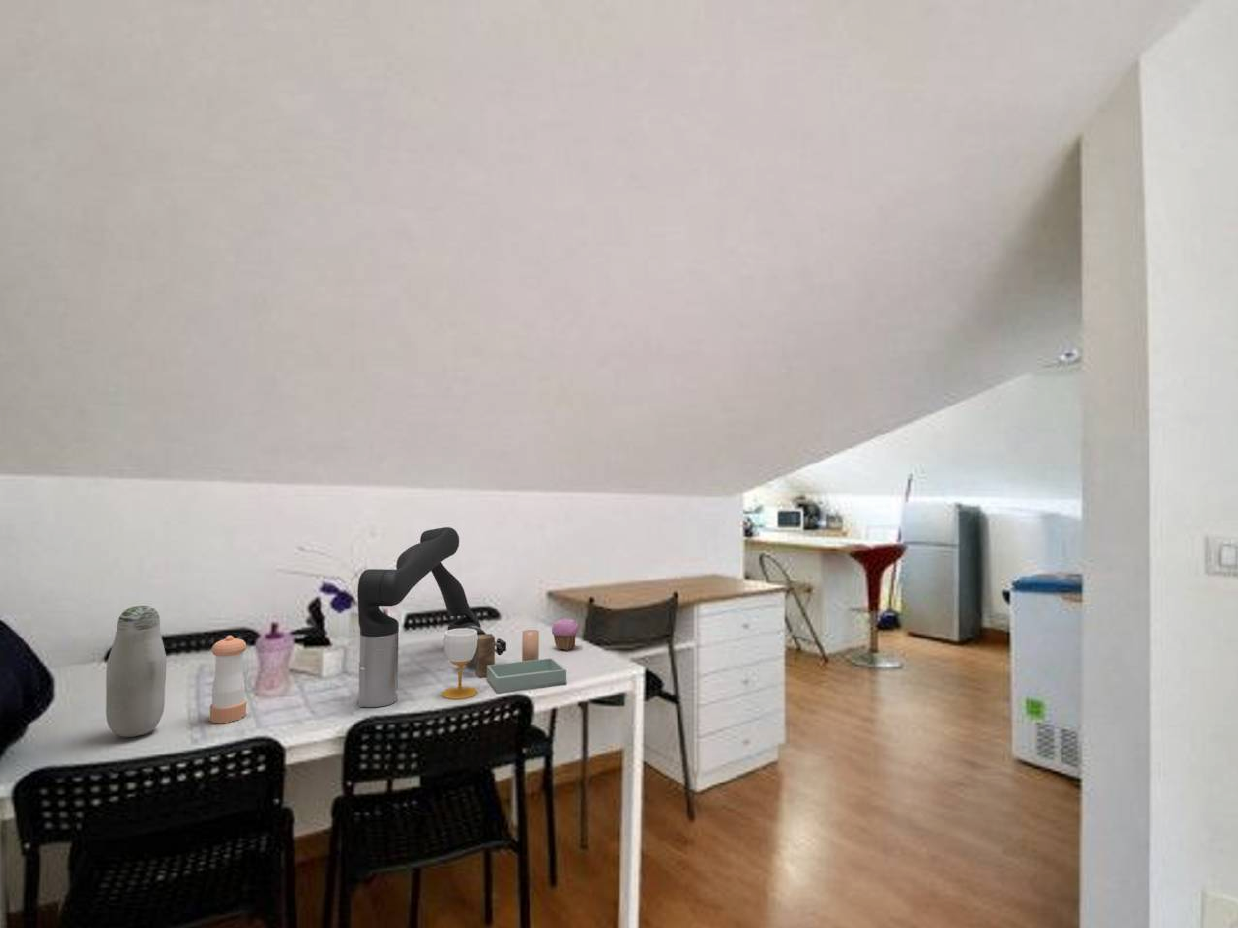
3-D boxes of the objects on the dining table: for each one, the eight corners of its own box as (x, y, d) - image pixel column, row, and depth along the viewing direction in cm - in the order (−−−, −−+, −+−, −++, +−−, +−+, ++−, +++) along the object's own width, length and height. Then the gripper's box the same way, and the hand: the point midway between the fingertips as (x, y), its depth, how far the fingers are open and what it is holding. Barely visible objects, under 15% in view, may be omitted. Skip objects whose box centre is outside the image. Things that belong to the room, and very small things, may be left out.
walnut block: (478, 677, 181) (479, 639, 181) (475, 673, 185) (475, 635, 185) (494, 676, 183) (494, 637, 183) (490, 671, 187) (491, 633, 187)
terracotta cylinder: (524, 672, 186) (525, 634, 186) (520, 667, 190) (520, 630, 191) (540, 670, 188) (540, 633, 188) (535, 666, 192) (536, 629, 193)
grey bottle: (93, 742, 136) (96, 610, 136) (137, 723, 146) (139, 601, 146) (134, 745, 134) (137, 612, 135) (175, 726, 144) (177, 602, 145)
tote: (497, 693, 168) (497, 678, 168) (486, 679, 179) (486, 665, 179) (565, 684, 176) (566, 669, 176) (551, 671, 187) (551, 658, 187)
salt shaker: (206, 717, 150) (207, 635, 150) (241, 709, 155) (242, 630, 155) (213, 726, 144) (215, 641, 145) (249, 718, 150) (251, 636, 150)
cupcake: (583, 647, 213) (583, 617, 214) (569, 653, 206) (569, 622, 206) (560, 644, 218) (561, 614, 218) (546, 650, 210) (546, 619, 210)
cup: (440, 689, 171) (441, 629, 171) (474, 686, 174) (475, 626, 174) (443, 700, 162) (444, 637, 162) (479, 696, 165) (480, 634, 166)
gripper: (451, 629, 194) (461, 642, 180) (497, 625, 200) (510, 637, 186) (450, 654, 194) (460, 669, 179) (496, 649, 200) (510, 663, 185)
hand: (486, 653), depth 183 cm, fingers open, 8 cm apart
